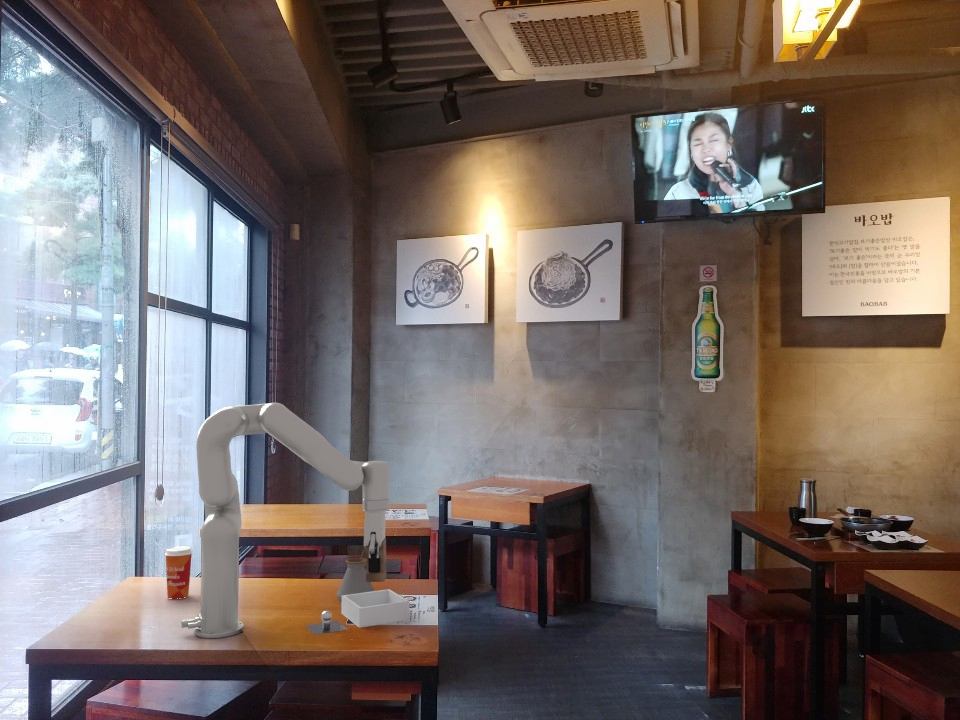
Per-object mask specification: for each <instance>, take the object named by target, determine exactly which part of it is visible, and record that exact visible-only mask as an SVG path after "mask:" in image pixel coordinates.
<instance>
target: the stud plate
mask: <svg viewBox="0 0 960 720" xmlns="http://www.w3.org/2000/svg"><path fill="white" fill-rule="evenodd" d="M332 615H333V613H332V612H331V611H329V610H324V611H322V612H321V615H320V618H321V620H322V622H319V623H312V624H306V625H305V624H304V626H305V627H306V628H307V630H309V631H310V633H312V634H313V635H314V636H317V635H325V634H330V633H335V632H336V633H337V632H344V631H348V627H345V625H344V624H343V623H341V622H340V621H338V620H332V618H333V617H332ZM331 620H332V621H331Z"/></svg>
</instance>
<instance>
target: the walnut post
mask: <svg viewBox="0 0 960 720" xmlns="http://www.w3.org/2000/svg"><path fill="white" fill-rule="evenodd" d="M377 546H378V544H376V545H375V547H377ZM375 550H376V551H377V549H375ZM368 558H369V545H368V546H366V554H365V559H366V565H365V569H366V582H371V583H385V581H386V579H387V538H386V537H385V539H384V540H383V542H382V546H381V547H380V548H379V558H380V572H379V573H369V571H368Z"/></svg>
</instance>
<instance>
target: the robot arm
mask: <svg viewBox="0 0 960 720" xmlns="http://www.w3.org/2000/svg"><path fill="white" fill-rule="evenodd" d="M259 434H268V435H269V436H271V437H272V438H273V439H275V440H276V441H277V442H279V443H281V444H282V445H283V446H284V447H286V448H287V449H289V450H290V451H291V452H292V453H293V454H294V455H296V456H297V457H299V458H300V459H301V460H302V461H304V462H305V463H307V464H309V465H311V466H312V467H313V468H314V469H316V471H318V472H319V473H320V474H322V475H323V476H325V477H326V478H327V479H328V480H329V481H331V482H333V483H334V484H335V485H336V486H338V487H339V488H341V489H342V490H344V491H348V492H349V491H351V492H352V491H355V490H357V489H359V488H360V487H361V486H362V487H361V488H362V500H361V501H362V506H361V507H362V510H361V511H363V512H365V515H364V528H363V531H364V532H363V548H364V547H366V546H368V545H369V558H368V571H369V573H379V572H380V558H379V548H380V547H381V546H382V542H383V540H384V539H385V538H386V512H388V511H389V510H390V465H389V463H388V461H385V460H369V461H356V460H351V459H350V458H349V457H348V456H346V455H345V454H343V453H342V452H340V450H338V449H337V448H336V447H334V446H333V445H332V444H331V443H330V442H329V441H328V440H327V439H326V438H325V436H323V435H322V434H321V433H320V432H319V431H317V430H316V429H315V428H313V427H312V426H311V425H310V424H309V423H307V422H306V421H304V420H303V419H302V418H300V417H299V416H298V415H297V414H295V413H294V412H292V411H291V410H290V409H289V408H287V406H285V405H284V404H282V403H279V402H269V403H259V404H248V405H230V406H226V407H223V408H221V409H219V410H217V411H215V412H214V413H212V414H210V416H208V418H206V419H205V421H204V422H203V423H202V425H201V426H200V428H199V429H198V433H197V437H196V443H195V444H196V446H195V447H196V460H197V462H196V463H197V475H198V494H199V497H200V499H201V501H202V502H203V506H204V515H205V520H204V522H203V524H202V527H201V532H200V551H201V552H200V553H201V554H200V556H201V557H200V558H201V560H200V563H201V565H200V566H201V567H200V575H201V579H200V612H199V613H197V616H195V617H194V618H191V619H181V621H180V623H181V624H180V625H181V628H182V629H184V628H187V629H188V630H189V629H193V634H194V635H195V636H196V637H199V638H203V639H217V638H218V639H221V638H227V637H231V636H234V635H236V634H239V633H241V632H242V631H243V628H244V627H245V625H244V623H243V622H242V621H240V620H239V583H240V582H239V577H240V576H239V574H240V570H239V569H240V565H239V564H240V563H239V562H240V561H239V560H240V557H239V556H240V554H239V553H240V547H239V545H240V542H239V541H240V533H241V529H242V513H241V502H240V493H239V492H240V491H239V485H238V480H237V478H236V476H235V475H234V474H233V470H232V462H231V459H232V458H231V450H230V445H231V442H232V439H234V438H236V437H239V436H247V435H248V436H249V435H259ZM376 544H378V546H377V547H375V545H376ZM375 549H377V551H376V550H375Z"/></svg>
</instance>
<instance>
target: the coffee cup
mask: <svg viewBox="0 0 960 720" xmlns="http://www.w3.org/2000/svg"><path fill="white" fill-rule="evenodd" d="M193 553H194V552H193V550H192V547H190V546H185V545H184V546H173V547H169V548H166V550H165V553H164V556H165V569H166V571H165V572H166V591H167V592H166V594H167V599H168V598H172V599H177V598H178V600H180V599H179V598H184V597H187V596H188V597H189V591H190V580H191V567H192V555H193ZM188 597H187V598H188ZM184 599H185V598H184Z"/></svg>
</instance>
